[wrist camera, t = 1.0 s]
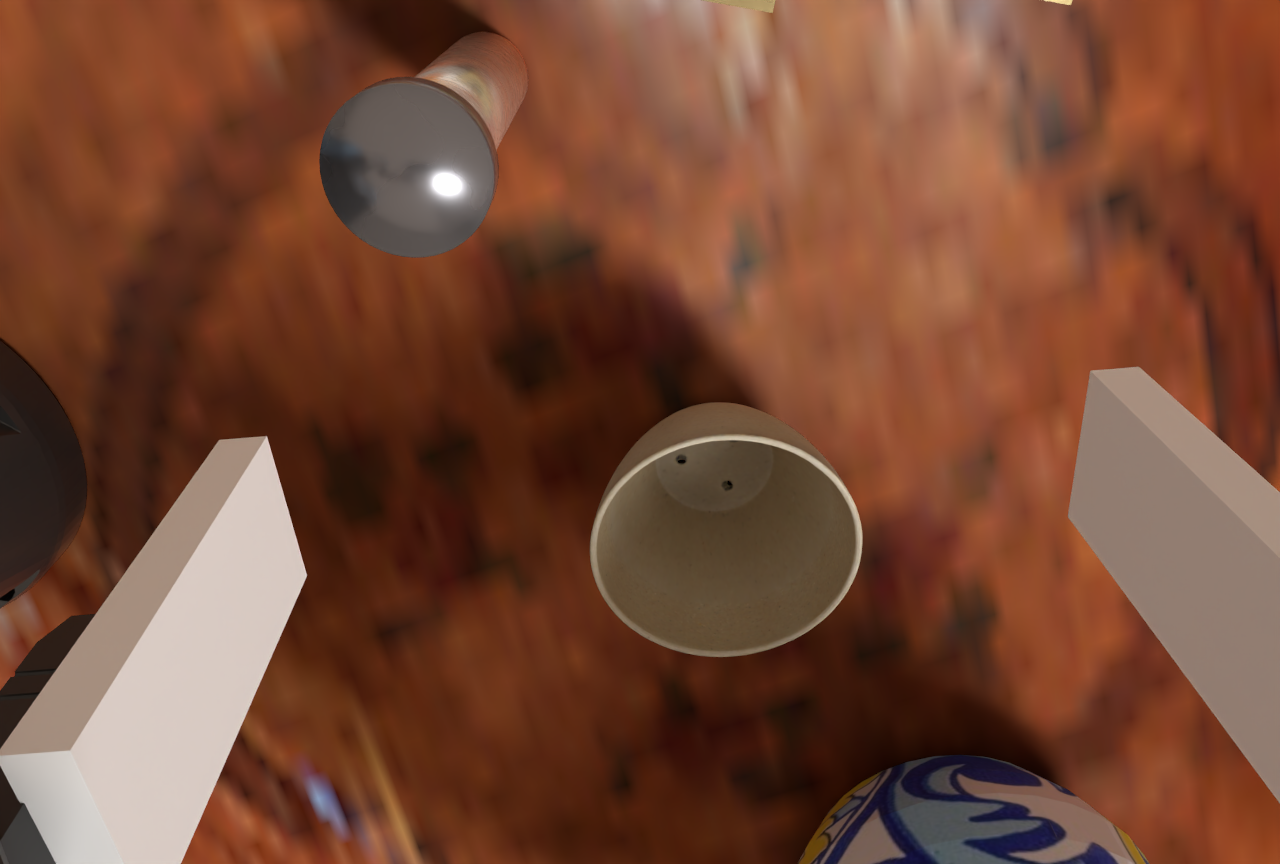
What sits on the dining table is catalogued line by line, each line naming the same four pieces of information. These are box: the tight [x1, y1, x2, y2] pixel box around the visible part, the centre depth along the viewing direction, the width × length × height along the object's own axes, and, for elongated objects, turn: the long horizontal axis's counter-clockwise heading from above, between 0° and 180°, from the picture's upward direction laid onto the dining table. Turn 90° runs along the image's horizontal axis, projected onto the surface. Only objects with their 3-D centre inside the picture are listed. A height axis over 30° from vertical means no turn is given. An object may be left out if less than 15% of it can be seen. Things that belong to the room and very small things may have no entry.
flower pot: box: [590, 402, 862, 657], centre depth 40 cm, size 10×10×7 cm
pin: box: [320, 32, 528, 257], centre depth 29 cm, size 4×4×14 cm
